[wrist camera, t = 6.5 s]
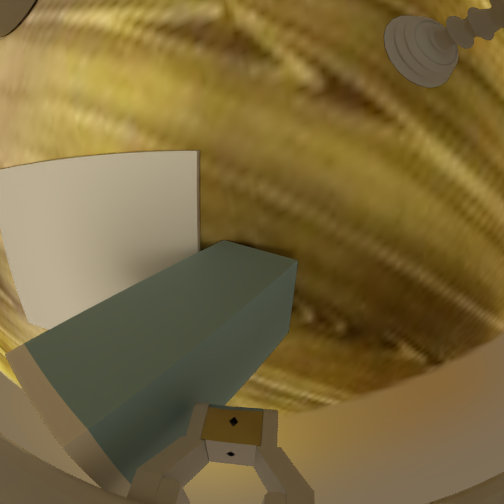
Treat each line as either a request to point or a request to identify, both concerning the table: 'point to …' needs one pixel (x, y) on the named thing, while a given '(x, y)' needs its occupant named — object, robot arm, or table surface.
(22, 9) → the travel mug
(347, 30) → the table surface
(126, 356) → the long block
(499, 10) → the chalice
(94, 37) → the table surface
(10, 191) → the mat
